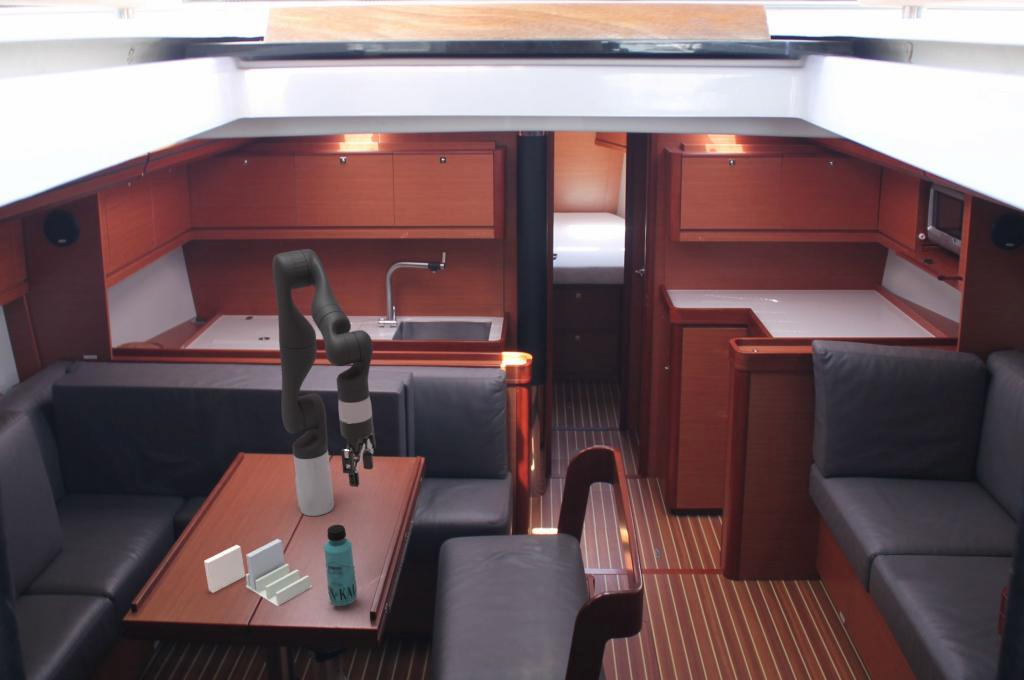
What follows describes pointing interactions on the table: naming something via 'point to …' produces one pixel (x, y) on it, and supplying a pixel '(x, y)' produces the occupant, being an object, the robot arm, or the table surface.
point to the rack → (280, 585)
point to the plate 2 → (265, 560)
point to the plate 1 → (224, 568)
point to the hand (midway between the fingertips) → (361, 477)
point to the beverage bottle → (340, 567)
